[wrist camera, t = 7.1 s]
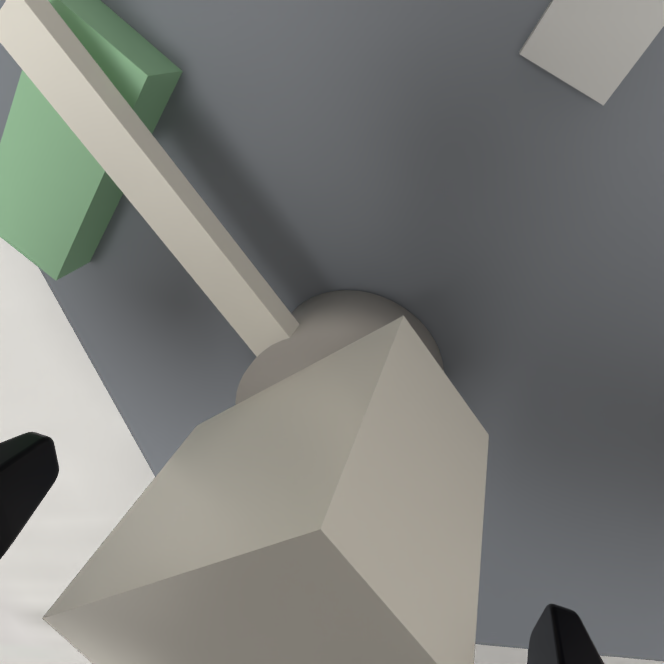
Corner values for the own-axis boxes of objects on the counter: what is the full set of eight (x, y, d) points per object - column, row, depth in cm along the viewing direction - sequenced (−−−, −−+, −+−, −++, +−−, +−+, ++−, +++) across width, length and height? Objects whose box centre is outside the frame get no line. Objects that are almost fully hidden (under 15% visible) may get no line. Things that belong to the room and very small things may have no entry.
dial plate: (734, 619, 16) (772, 719, 14) (251, 589, 23) (221, 654, 20) (736, -429, 7) (834, -637, 5) (-46, 16, 14) (-159, 15, 12)
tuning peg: (508, 389, 13) (501, 738, 6) (320, 465, 16) (191, 753, 9) (169, -107, 10) (-430, -339, 4) (18, 101, 13) (-454, 171, 7)
